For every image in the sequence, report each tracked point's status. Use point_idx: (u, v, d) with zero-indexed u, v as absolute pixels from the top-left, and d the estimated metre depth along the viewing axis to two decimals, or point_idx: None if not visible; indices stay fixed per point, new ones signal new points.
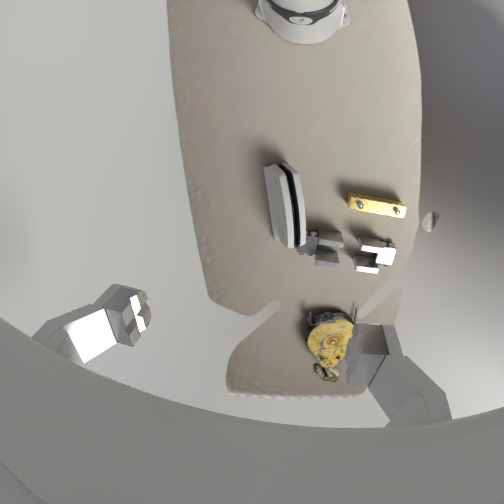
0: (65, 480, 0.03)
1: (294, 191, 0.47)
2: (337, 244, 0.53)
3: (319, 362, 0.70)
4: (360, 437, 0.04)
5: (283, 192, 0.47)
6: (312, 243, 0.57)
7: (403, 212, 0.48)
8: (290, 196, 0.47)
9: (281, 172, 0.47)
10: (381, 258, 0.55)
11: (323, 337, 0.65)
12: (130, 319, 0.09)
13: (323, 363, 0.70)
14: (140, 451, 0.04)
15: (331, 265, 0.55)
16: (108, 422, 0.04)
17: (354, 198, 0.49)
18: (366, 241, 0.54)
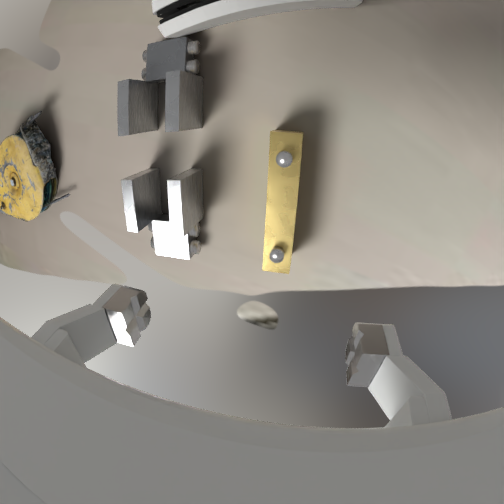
0: (65, 480, 0.03)
1: None
2: (171, 116, 0.18)
3: None
4: (360, 437, 0.04)
5: None
6: (168, 67, 0.19)
7: (274, 268, 0.24)
8: None
9: None
10: (162, 231, 0.27)
11: (11, 162, 0.23)
12: (130, 319, 0.09)
13: None
14: (140, 451, 0.04)
15: (121, 119, 0.19)
16: (108, 422, 0.04)
17: (299, 142, 0.19)
18: (191, 189, 0.23)
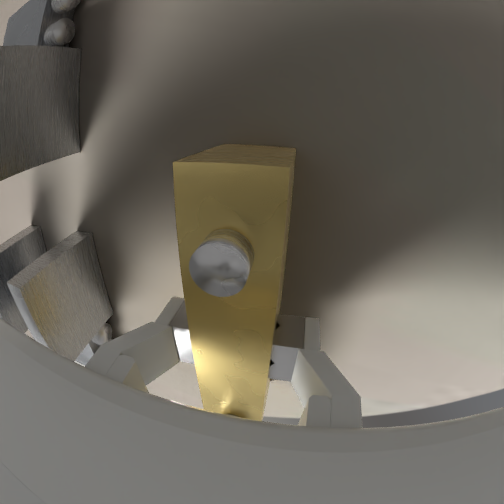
0: (65, 480, 0.03)
1: None
2: None
3: None
4: (359, 437, 0.04)
5: None
6: None
7: None
8: None
9: None
10: None
11: None
12: None
13: None
14: (140, 451, 0.04)
15: None
16: (108, 422, 0.04)
17: (277, 200, 0.05)
18: (63, 286, 0.10)
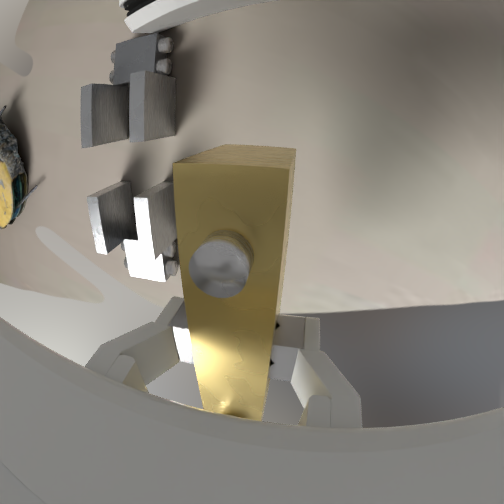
0: (65, 480, 0.03)
1: None
2: (136, 124, 0.15)
3: None
4: (359, 437, 0.04)
5: None
6: (137, 68, 0.16)
7: None
8: None
9: None
10: (135, 251, 0.24)
11: None
12: None
13: None
14: (140, 451, 0.04)
15: (84, 129, 0.16)
16: (108, 422, 0.04)
17: (277, 201, 0.05)
18: (163, 206, 0.20)
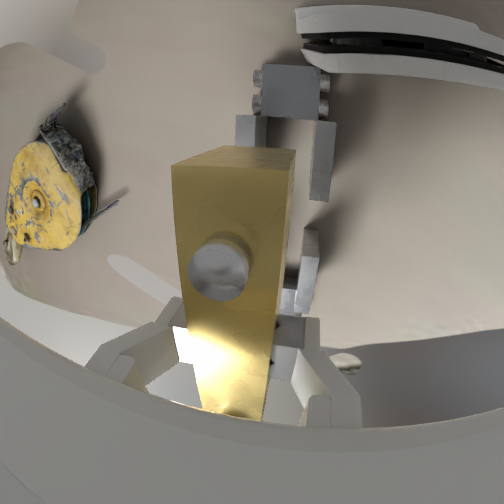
0: (65, 480, 0.03)
1: (500, 69, 0.07)
2: (320, 182, 0.16)
3: (6, 210, 0.24)
4: (359, 437, 0.04)
5: (500, 40, 0.06)
6: (296, 104, 0.16)
7: None
8: (494, 54, 0.07)
9: None
10: None
11: (32, 176, 0.21)
12: None
13: (9, 219, 0.25)
14: (140, 451, 0.04)
15: None
16: (108, 422, 0.04)
17: (277, 204, 0.05)
18: None
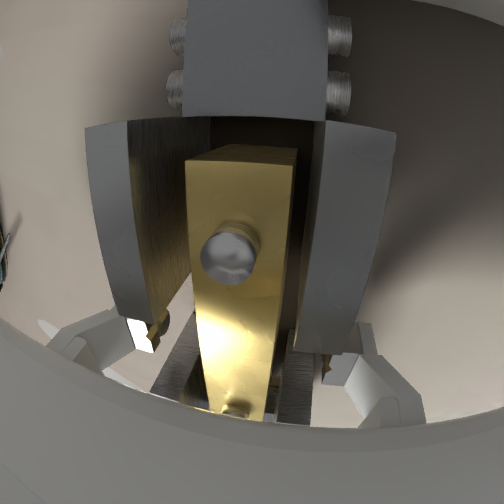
0: (65, 480, 0.03)
1: None
2: (327, 316, 0.05)
3: None
4: (360, 437, 0.04)
5: None
6: (266, 81, 0.06)
7: None
8: None
9: None
10: None
11: None
12: (151, 325, 0.09)
13: None
14: (140, 451, 0.04)
15: (118, 272, 0.06)
16: (108, 422, 0.04)
17: (281, 195, 0.06)
18: None
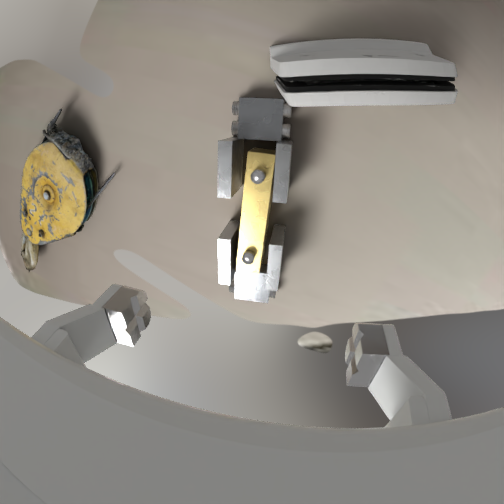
0: (65, 480, 0.03)
1: (432, 87, 0.14)
2: (280, 189, 0.22)
3: (21, 215, 0.30)
4: (359, 437, 0.04)
5: (433, 63, 0.12)
6: (264, 129, 0.23)
7: (246, 269, 0.28)
8: (425, 76, 0.13)
9: None
10: (245, 279, 0.30)
11: (41, 172, 0.26)
12: (130, 319, 0.09)
13: (24, 222, 0.30)
14: (140, 451, 0.04)
15: (222, 181, 0.23)
16: (108, 422, 0.04)
17: (272, 162, 0.22)
18: None
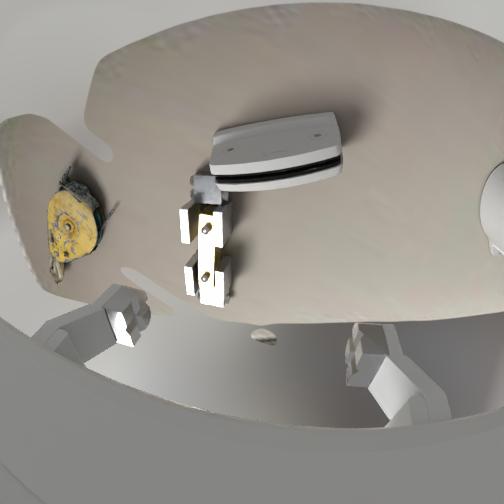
0: (65, 480, 0.03)
1: (312, 170, 0.27)
2: (218, 238, 0.36)
3: (49, 241, 0.45)
4: (359, 437, 0.04)
5: (311, 153, 0.26)
6: (210, 196, 0.37)
7: (205, 285, 0.42)
8: (305, 164, 0.27)
9: (340, 147, 0.27)
10: (207, 291, 0.45)
11: (62, 211, 0.40)
12: (130, 319, 0.09)
13: (51, 247, 0.45)
14: (140, 451, 0.04)
15: (184, 233, 0.37)
16: (108, 422, 0.04)
17: None
18: (227, 272, 0.41)
